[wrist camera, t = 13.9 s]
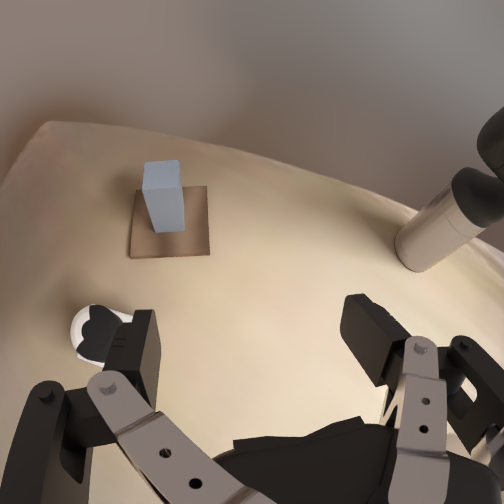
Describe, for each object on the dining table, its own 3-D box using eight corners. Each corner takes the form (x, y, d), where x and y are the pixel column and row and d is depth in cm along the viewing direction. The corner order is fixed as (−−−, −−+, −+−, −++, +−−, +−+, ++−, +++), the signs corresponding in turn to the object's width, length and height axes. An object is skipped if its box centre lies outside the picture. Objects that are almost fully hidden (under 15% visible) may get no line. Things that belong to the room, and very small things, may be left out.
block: (184, 206, 45) (179, 159, 36) (184, 231, 44) (178, 187, 34) (156, 207, 45) (145, 162, 35) (155, 232, 43) (141, 189, 33)
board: (206, 189, 48) (206, 186, 48) (209, 255, 44) (209, 252, 43) (137, 193, 47) (136, 190, 46) (131, 258, 42) (130, 256, 41)
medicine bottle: (153, 328, 38) (131, 308, 27) (142, 377, 35) (114, 375, 24) (108, 315, 38) (74, 290, 27) (96, 361, 35) (56, 352, 24)
